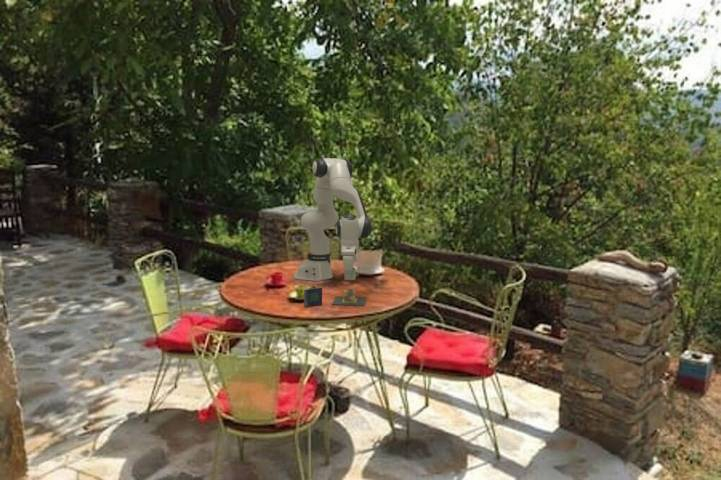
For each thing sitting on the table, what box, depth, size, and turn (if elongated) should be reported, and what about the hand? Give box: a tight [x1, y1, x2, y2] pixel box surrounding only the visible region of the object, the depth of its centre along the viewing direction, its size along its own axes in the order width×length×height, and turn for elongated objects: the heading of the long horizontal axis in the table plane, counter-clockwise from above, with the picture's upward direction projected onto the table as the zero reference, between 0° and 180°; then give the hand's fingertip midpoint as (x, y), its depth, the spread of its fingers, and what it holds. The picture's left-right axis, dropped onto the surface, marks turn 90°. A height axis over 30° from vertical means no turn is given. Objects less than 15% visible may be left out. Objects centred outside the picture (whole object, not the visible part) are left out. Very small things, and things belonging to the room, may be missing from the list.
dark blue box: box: [303, 283, 323, 308], centre depth 284 cm, size 9×3×11 cm, turn 117°
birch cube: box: [343, 288, 356, 302], centre depth 290 cm, size 5×5×5 cm
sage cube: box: [343, 267, 357, 281], centre depth 288 cm, size 5×5×5 cm
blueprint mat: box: [331, 295, 368, 307], centre depth 291 cm, size 16×13×1 cm
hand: (350, 275), depth 288 cm, fingers closed on sage cube, 5 cm apart
